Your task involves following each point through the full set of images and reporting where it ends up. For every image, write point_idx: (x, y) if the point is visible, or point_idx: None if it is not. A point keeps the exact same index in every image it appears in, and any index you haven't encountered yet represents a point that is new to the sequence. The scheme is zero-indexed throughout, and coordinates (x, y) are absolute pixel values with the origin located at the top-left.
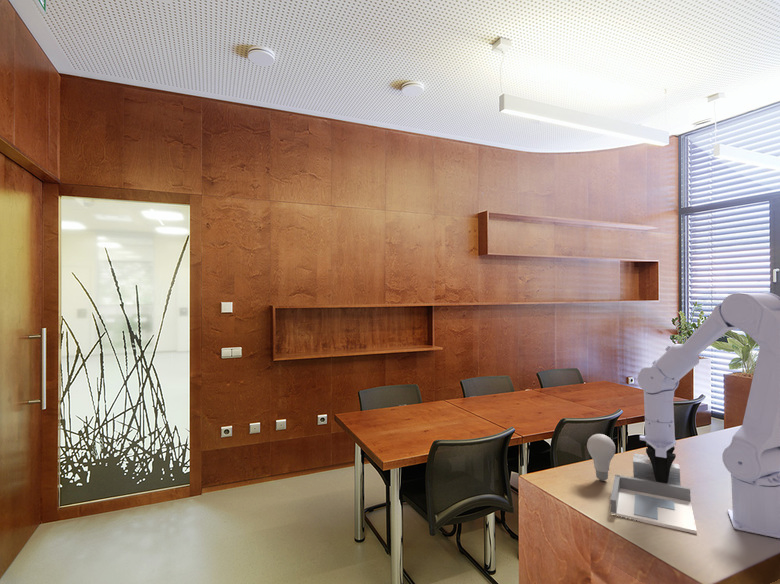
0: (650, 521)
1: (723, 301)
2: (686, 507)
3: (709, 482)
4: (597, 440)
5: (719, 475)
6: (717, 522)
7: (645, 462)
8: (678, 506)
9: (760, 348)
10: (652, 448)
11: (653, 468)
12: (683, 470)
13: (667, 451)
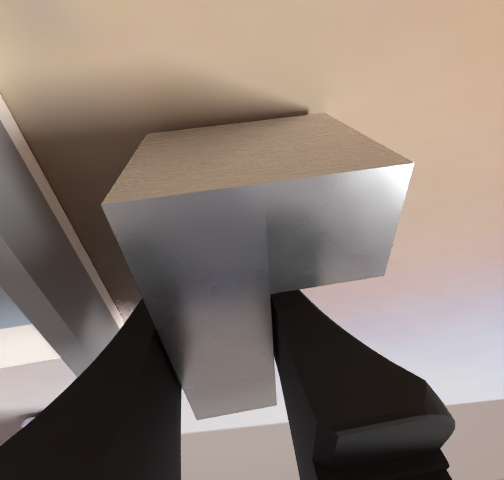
0: None
1: None
2: (32, 350)
3: (364, 343)
4: None
5: (436, 349)
6: (35, 392)
7: (167, 295)
8: (11, 334)
9: None
10: (306, 428)
11: (120, 330)
12: (465, 280)
13: (301, 465)
